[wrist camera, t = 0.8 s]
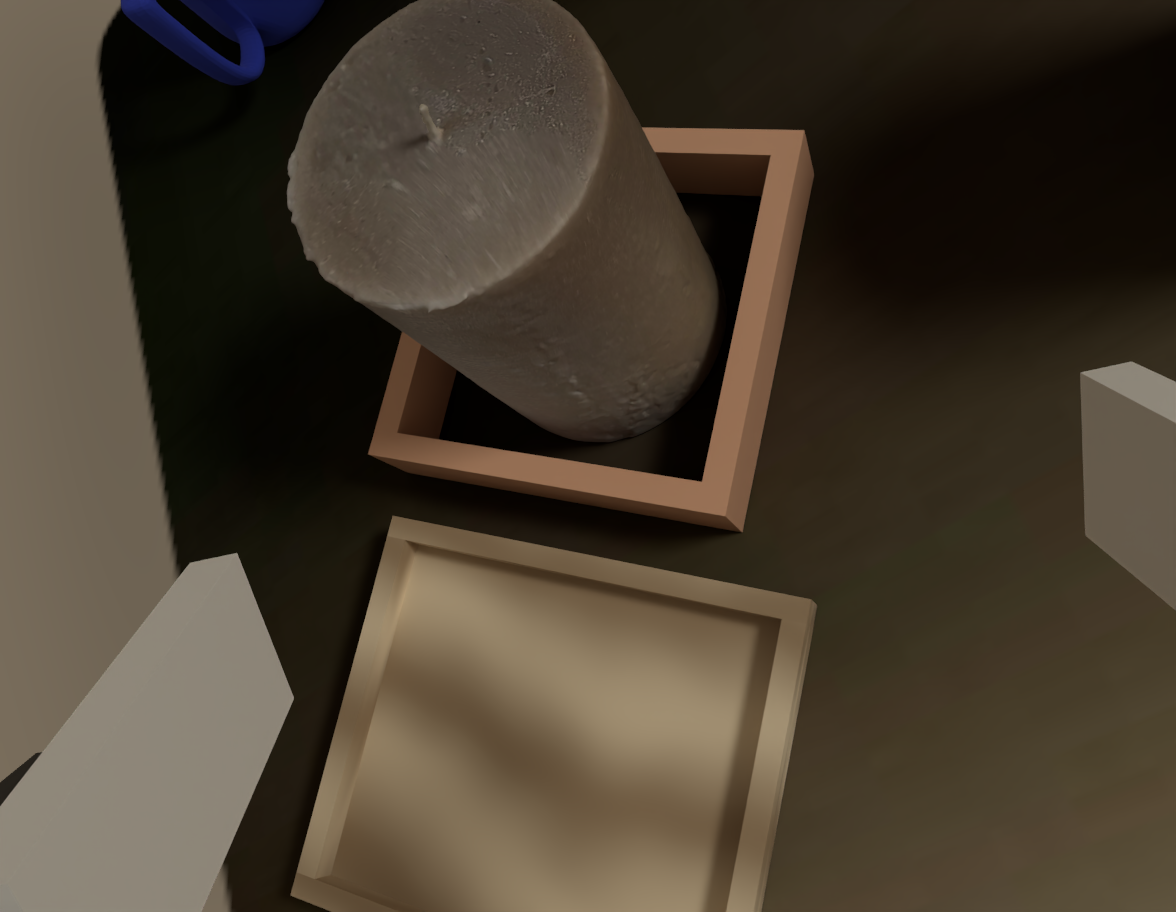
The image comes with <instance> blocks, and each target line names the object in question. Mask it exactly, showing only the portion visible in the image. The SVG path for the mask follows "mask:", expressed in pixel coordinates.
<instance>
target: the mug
mask: <svg viewBox="0 0 1176 912" xmlns="http://www.w3.org/2000/svg"><path fill="white" fill-rule="evenodd" d="M180 1H181V2H182V3H184V4H185V5H186V6H187V7H189V8H190V9H191V10H192V11H194V12H195V13H196V14H197V15H198V16H200V17H201V18H202V19H203V20H205V21H206V22H207V23H208V24H210V25H211V26H212V27H213V28H214V29H216V30H217V31H218V32H220V33H221V34H222V35H224V36H225V37H227V38H229V39H231V40H233V41H234V42H237V43H239V44H240V49H241V62H240V66H238V65H236V64H234V63H232V62H230V61H229V60H227V59H225V58H224V57H222V56H221V55H220V54H218V53H217V52H215V51H214V50H213V49H211V48H210V47H209V46H207V45H206V44H205V43H204V42H202V41H201V40H200V39H198V38H197V37H196V36H195V35H193V34H192V33H191V32H190V31H189V30H187V29H186V28H185V27H184V26H183V25H181V24H180V23H179V22H178V21H177V20H176V19H174V18H173V17H172V16H171V15H170V14H168V13H167V12H166V11H165V10H164V9H163V8H162V7H161V6H160V5H159V4H158V3H157V2H156V0H121V8H122V11H123V12H124V14H125V15H126V16H127V17H128V18H129V19H130V20H132V21H133V22H134V23H135V24H136V25H138V26H139V27H140V28H142V29H143V30H144V31H145V32H147V33H148V34H149V35H151V36H152V37H153V38H155V39H156V40H157V41H159V42H160V43H161V44H163V45H164V46H165V47H167V48H168V49H169V50H171V51H172V52H174V53H175V54H176V55H178V56H179V57H180V58H182V59H183V60H185V61H186V62H188V63H189V64H191V65H192V66H194V67H195V68H197V69H198V70H200V71H202V72H203V73H205V74H207V75H209V76H210V77H212V78H214V79H216V80H218V81H220V82H223V83H226V84H229V85H244V84H247V83H250V82H252V81H255V80H256V79H257V78H259V76H260V75H261V74H262V71H263V69H264V64H265V52H264V47H267V46H273V45H276V44H279V43H282V42H284V41H286V40H288V39H290V38H292V37H293V36H295V35H296V34H298V33H299V32H300V31H302V30H303V29H304V28H305V27H306V26H307V25H308V24H309V23H310V22H311V21H312V20H313V18H314V17H315V16H316V15H317V13H318V12H319V10H320V9H321V7H322V5H323V3H324V1H325V0H180Z"/></svg>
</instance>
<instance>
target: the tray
mask: <svg viewBox="0 0 1176 912" xmlns="http://www.w3.org/2000/svg"><path fill="white" fill-rule="evenodd" d="M816 611H817V605H816V604H815V603H814V602H813V601H812V600H811V599H806V598H801V597H796V596H791V595H786V594H781V593H776V592H771V591H766V590H761V589H756V588H751V587H746V586H741V585H736V584H731V583H726V582H721V581H716V580H711V579H706V578H701V577H696V576H691V575H686V574H681V573H676V572H671V571H666V570H661V569H656V568H651V567H646V566H641V565H636V564H631V563H626V562H621V561H616V560H611V559H606V558H601V557H596V556H591V555H586V554H581V553H576V552H571V551H566V550H561V549H556V548H551V547H546V546H541V545H536V544H531V543H526V542H521V541H516V540H511V539H506V538H501V537H496V536H491V535H486V534H481V533H476V532H471V531H466V530H461V529H456V528H451V527H446V526H441V525H436V524H431V523H426V522H421V521H416V520H411V519H406V518H401V517H396V516H393V517H392V521H391V524H390V528H389V532H388V535H387V539H386V543H385V546H384V550H383V554H382V558H381V561H380V565H379V569H378V572H377V576H376V580H375V584H374V587H373V591H372V595H371V598H370V602H369V606H368V609H367V613H366V617H365V621H364V624H363V628H362V632H361V635H360V639H359V643H358V647H357V650H356V654H355V658H354V661H353V665H352V669H351V672H350V676H349V680H348V684H347V687H346V691H345V695H344V698H343V702H342V706H341V710H340V713H339V717H338V721H337V724H336V728H335V732H334V735H333V739H332V743H331V747H330V750H329V754H328V758H327V761H326V765H325V769H324V773H323V776H322V780H321V784H320V787H319V791H318V795H317V798H316V802H315V806H314V810H313V813H312V817H311V821H310V824H309V828H308V832H307V836H306V839H305V843H304V847H303V850H302V854H301V858H300V861H299V865H298V869H297V873H296V876H295V880H294V884H293V887H292V891H291V896H293V897H296V898H298V899H301V900H303V901H306V902H308V903H311V904H313V905H316V906H318V907H321V908H323V909H326V910H328V911H331V912H761V910H762V905H763V899H764V894H765V889H766V883H767V878H768V872H769V867H770V861H771V856H772V850H773V845H774V840H775V834H776V829H777V823H778V818H779V812H780V807H781V801H782V796H783V791H784V785H785V780H786V774H787V769H788V763H789V758H790V752H791V747H792V742H793V736H794V731H795V725H796V720H797V714H798V709H799V703H800V698H801V693H802V687H803V682H804V676H805V671H806V665H807V660H808V654H809V649H810V643H811V638H812V633H813V627H814V622H815V616H816Z"/></svg>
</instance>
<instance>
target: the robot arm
mask: <svg viewBox="0 0 1176 912" xmlns="http://www.w3.org/2000/svg"><path fill="white" fill-rule="evenodd" d="M1080 381H1081V414H1082V446H1083V478H1084V511H1085V536H1087V537H1088V538H1089V539H1090V540H1092V541H1093V542H1094V543H1095V544H1096V545H1098V546H1099V547H1100V548H1101V549H1102V550H1104V551H1105V552H1106V553H1107V554H1108V555H1110V556H1111V557H1112V558H1113V559H1114V560H1116V561H1117V562H1118V563H1119V564H1120V565H1122V566H1123V567H1124V568H1125V569H1126V570H1128V571H1129V572H1130V573H1131V574H1133V575H1134V576H1135V577H1136V578H1137V579H1139V580H1140V581H1141V582H1142V583H1143V584H1145V585H1146V586H1147V587H1148V588H1149V589H1151V590H1152V591H1153V592H1154V593H1155V594H1157V595H1158V596H1159V597H1160V598H1161V599H1163V600H1164V601H1165V602H1166V603H1167V604H1169V605H1170V606H1171V607H1172V608H1173V609H1175V610H1176V382H1175V381H1173V380H1170V379H1168V378H1166V377H1164V376H1162V375H1160V374H1157V373H1155V372H1153V371H1151V370H1149V369H1147V368H1144V367H1142V366H1140V365H1138V364H1136V363H1134V362H1128V363H1123V364H1118V365H1113V366H1109V367H1104V368H1099V369H1095V370H1090V371H1085V372H1081V373H1080ZM293 699H294V697H293V695H292V692H291V690H290V687H289V684H288V682H287V679H286V677H285V674H284V672H283V669H282V667H281V664H280V662H279V659H278V656H277V654H276V651H275V649H274V646H273V644H272V641H271V639H270V636H269V633H268V631H267V628H266V626H265V623H264V621H263V618H262V616H261V613H260V611H259V608H258V605H257V603H256V600H255V598H254V595H253V593H252V590H251V588H250V585H249V582H248V580H247V577H246V575H245V572H244V570H243V567H242V565H241V562H240V560H239V557H238V554H237V553H235V554H230V555H225V556H221V557H216V558H211V559H207V560H202V561H197V562H193V563H190V564H189V565H188V566H187V567H186V569H185V570H184V571H183V572H182V574H181V575H180V576H179V578H178V579H177V580H176V581H175V583H174V584H173V585H172V587H171V588H170V589H169V591H168V592H167V593H166V594H165V596H164V597H163V598H162V599H161V601H160V602H159V603H158V605H157V606H156V607H155V608H154V610H153V611H152V612H151V614H150V615H149V616H148V617H147V619H146V620H145V621H144V623H143V624H142V625H141V626H140V628H139V629H138V630H137V631H136V633H135V634H134V635H133V637H132V638H131V639H130V640H129V642H128V643H127V645H126V646H125V647H124V648H123V650H122V651H121V652H120V653H119V655H118V656H117V657H116V658H115V660H114V661H113V663H112V664H111V665H110V666H109V667H108V669H107V670H106V671H105V673H104V674H103V675H102V676H101V678H100V679H99V680H98V681H97V683H96V684H95V686H94V687H93V688H92V689H91V690H90V692H89V693H88V694H87V696H86V697H85V698H84V699H83V701H82V702H81V704H80V705H79V706H78V707H77V708H76V710H75V711H74V712H73V714H72V715H71V716H70V717H69V719H68V720H67V721H66V723H65V724H64V725H63V726H62V728H61V729H60V730H59V732H58V733H57V734H56V735H55V737H54V738H53V739H52V741H51V742H50V743H49V744H48V746H47V747H46V748H45V750H44V751H43V752H41V753H36V754H35V755H33V756H32V757H31V758H30V759H29V760H27V761H26V762H25V763H24V764H22V765H21V766H20V767H19V768H17V770H15V771H14V772H13V773H11V774H10V775H9V776H8V777H6V778H5V779H4V780H3V781H2V782H0V912H202V909H203V908H204V905H205V903H206V901H207V898H208V896H209V893H210V891H211V889H212V887H213V884H214V882H215V880H216V877H217V875H218V873H219V871H220V868H221V866H222V864H223V861H224V859H225V857H226V854H227V852H228V850H229V847H230V845H231V843H232V840H233V838H234V836H235V834H236V831H237V829H238V827H239V824H240V822H241V820H242V817H243V815H244V813H245V810H246V808H247V806H248V803H249V801H250V799H251V797H252V794H253V792H254V790H255V787H256V785H257V783H258V780H259V778H260V776H261V773H262V771H263V769H264V766H265V764H266V762H267V760H268V757H269V755H270V753H271V750H272V748H273V746H274V743H275V741H276V739H277V736H278V734H279V732H280V729H281V727H282V725H283V722H284V720H285V718H286V716H287V713H288V711H289V709H290V706H291V704H292V702H293Z"/></svg>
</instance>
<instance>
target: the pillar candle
mask: <svg viewBox="0 0 1176 912" xmlns="http://www.w3.org/2000/svg"><path fill="white" fill-rule="evenodd" d="M288 175H289V176H290V182H289V184H288V189H287V197H288V199H287V205H288V208H289V210H290V211H291V212H292V218H291V222H292V223H294V224H295V225H296V227H297V231H298V234H299V236H300V238H301V241H302V244H303V247H304V254H305V255H306V259H307V260H308V261H310V260H311V261H313V262H314V263H315V264H316V266H317V267H318V269H319V273H320V274H321V276H322V277H323V278H324V279H325V280H326V281H327V282H329V283H331V284H333V285H335V286H336V287H338V288H339V289H340V290H342V291H343V292H344V293H346V294H347V295H349V296H350V297H352V298H354V300H355V301H358V302H359V303H361V304H363V305H364V306H366V307H367V308H369V309H370V310H372V311H373V312H375V313H376V314H377V315H379V316H380V317H382V318H383V319H384V320H386V321H388V322H389V323H391V324H392V325H394V326H395V327H397V328H398V329H399V330H401V331H402V332H404V333H405V334H407V335H408V336H410V337H411V338H412V339H414V340H415V341H416V342H418V343H419V344H421V345H422V346H424V347H425V348H427V349H428V350H429V351H431V352H432V353H434V354H435V355H437V356H438V357H439V358H441V359H442V360H444V361H445V362H447V363H448V364H449V365H451V366H452V367H454V368H455V369H457V370H458V371H459V372H461V373H462V374H464V375H465V376H466V377H468V378H469V379H471V380H472V381H473V382H475V383H476V384H477V385H479V386H480V387H482V388H483V389H485V390H486V391H488V392H489V393H490V394H492V395H493V396H495V397H496V398H498V399H499V400H501V401H502V402H504V403H506V404H507V405H508V406H510V407H511V408H513V409H514V410H516V411H517V412H518V413H520V414H521V415H523V416H525V417H526V418H528V419H529V420H531V421H532V422H534V423H535V424H537V425H538V426H540V427H542V428H544V429H545V430H547V431H549V432H552V433H554V434H557V435H560V436H562V437H565V438H569V439H572V440H577V441H584V442H613V441H617V440H621V439H624V438H627V437H634V436H637V435H639V434H642V433H644V432H646V431H649V430H650V429H652V428H654V427H656V426H658V425H659V424H661V423H663V422H664V421H666V420H667V419H669V418H670V417H671V416H672V415H674V414H675V413H676V412H678V411H679V410H680V408H681V407H683V406H684V405H685V404H686V403H687V402H688V401H689V400H690V399H691V398H692V397H693V396H694V394H695V393H696V392H697V391H698V390H699V389H700V387H701V385H702V384H703V382H704V381H705V380H706V378H707V377H708V375H709V373H710V371H711V369H712V367H713V365H714V363H715V360H716V358H717V356H718V354H719V351H720V348H721V345H722V342H723V339H724V335H725V330H726V319H727V304H726V300H725V299H726V295H725V292H724V287H723V284H722V280H721V277H720V276H719V273H718V272H717V271H715V268H716V266H715V265H714V262H713V260H712V258H711V257H710V255H709V254H708V253H707V252H706V251H705V249H704V247H703V245H702V244H701V241H700V239H699V237H698V236H697V234H696V231H695V228H694V227H693V224H692V222H691V220H690V217H689V216H688V215H686V213H685V211H684V209H683V206H682V204H681V202H680V200H679V198H678V196H677V194H676V192H675V190H674V188H673V186H672V185H671V183H670V181H669V179H668V177H667V175H666V173H665V171H664V169H663V167H662V165H661V163H660V161H659V159H658V157H657V155H656V153H655V151H654V150H653V148H652V146H651V145H650V143H649V141H648V139H647V137H646V135H645V133H644V131H643V129H642V127H641V125H640V123H639V121H638V119H637V117H636V116H635V114H634V112H633V111H632V109H631V107H630V105H629V103H628V101H627V99H626V97H625V95H624V93H623V91H622V89H621V88H620V86H619V85H618V83H617V81H616V79H615V78H614V76H613V74H612V72H611V71H610V69H609V67H608V65H607V63H606V61H605V59H604V58H603V56H602V54H601V53H600V51H599V49H598V48H597V46H596V45H595V43H594V41H593V40H592V39H591V38H590V36H589V35H588V33H587V32H586V30H585V29H584V28H583V26H582V25H581V24H580V23H579V21H578V20H577V19H576V18H574V17H573V16H572V14H570V13H569V12H568V11H566V10H565V9H564V8H563V7H561V6H560V5H559V4H557V3H556V2H554V1H552V0H418V1H416V2H414V3H411V4H409V5H408V6H407V7H404V8H403V9H401V10H399V11H398V12H396V13H395V14H393V15H392V16H391V17H389V18H387V19H386V20H384V21H383V22H381V23H380V24H379V25H377V26H376V27H375V28H374V29H373V30H372V31H370V32H369V33H368V34H367V35H365V36H364V37H363V38H361V39H360V40H359V41H358V42H357V43H356V44H355V45H354V46H353V47H352V48H351V49H350V50H349V51H348V53H347V54H346V55H345V56H344V58H343V59H342V60H341V62H340V63H339V64H338V65H337V67H336V68H335V70H334V71H333V72H332V73H331V74H330V75H329V77H328V79H327V80H326V82H325V83H324V85H323V87H322V89H321V90H320V92H319V93H318V95H317V97H316V98H315V99H314V101H313V104H312V106H311V107H310V109H309V111H308V113H307V115H306V118H305V121H304V124H303V128H302V130H301V132H300V135H299V139H298V142H297V144H296V148H295V150H294V152H293V153H292V154H291V158H290V159H289V163H288Z"/></svg>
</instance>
